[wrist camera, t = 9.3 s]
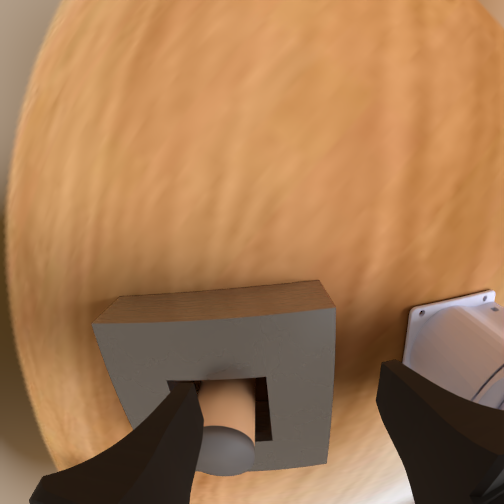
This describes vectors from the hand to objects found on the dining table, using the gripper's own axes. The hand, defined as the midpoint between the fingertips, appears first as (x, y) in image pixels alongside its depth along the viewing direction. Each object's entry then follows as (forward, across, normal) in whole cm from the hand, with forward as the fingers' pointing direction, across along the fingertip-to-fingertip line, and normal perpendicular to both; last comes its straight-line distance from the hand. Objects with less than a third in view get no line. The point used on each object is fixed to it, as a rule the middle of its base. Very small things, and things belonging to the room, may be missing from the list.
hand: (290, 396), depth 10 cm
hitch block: (+10, +4, +6) cm, 12 cm away
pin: (+10, +4, +6) cm, 12 cm away
